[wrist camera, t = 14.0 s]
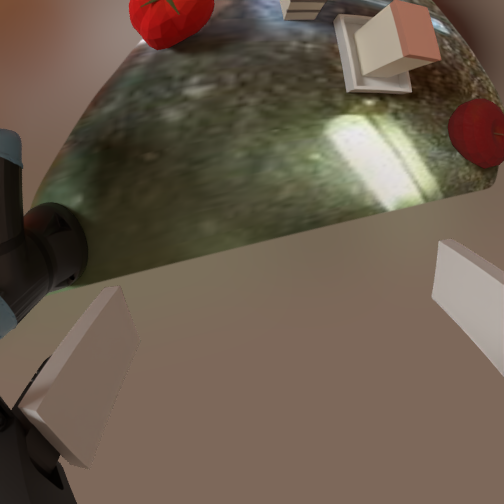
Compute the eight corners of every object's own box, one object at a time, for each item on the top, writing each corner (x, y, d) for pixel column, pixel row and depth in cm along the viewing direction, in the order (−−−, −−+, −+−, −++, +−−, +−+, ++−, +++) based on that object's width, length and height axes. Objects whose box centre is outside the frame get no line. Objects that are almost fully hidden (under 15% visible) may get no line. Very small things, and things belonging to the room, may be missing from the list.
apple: (461, 174, 40) (506, 187, 29) (425, 132, 38) (472, 135, 27) (484, 130, 37) (528, 135, 26) (451, 88, 34) (496, 83, 24)
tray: (346, 92, 36) (354, 89, 33) (332, 21, 31) (338, 13, 29) (402, 94, 36) (412, 92, 33) (388, 26, 31) (396, 20, 28)
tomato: (132, 54, 33) (103, 34, 23) (157, -13, 28) (138, -44, 19) (205, 61, 34) (193, 37, 24) (228, -9, 29) (224, -43, 20)
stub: (361, 76, 34) (409, 54, 21) (353, 34, 32) (394, -1, 19) (387, 77, 34) (441, 60, 21) (379, 37, 32) (427, 7, 19)
